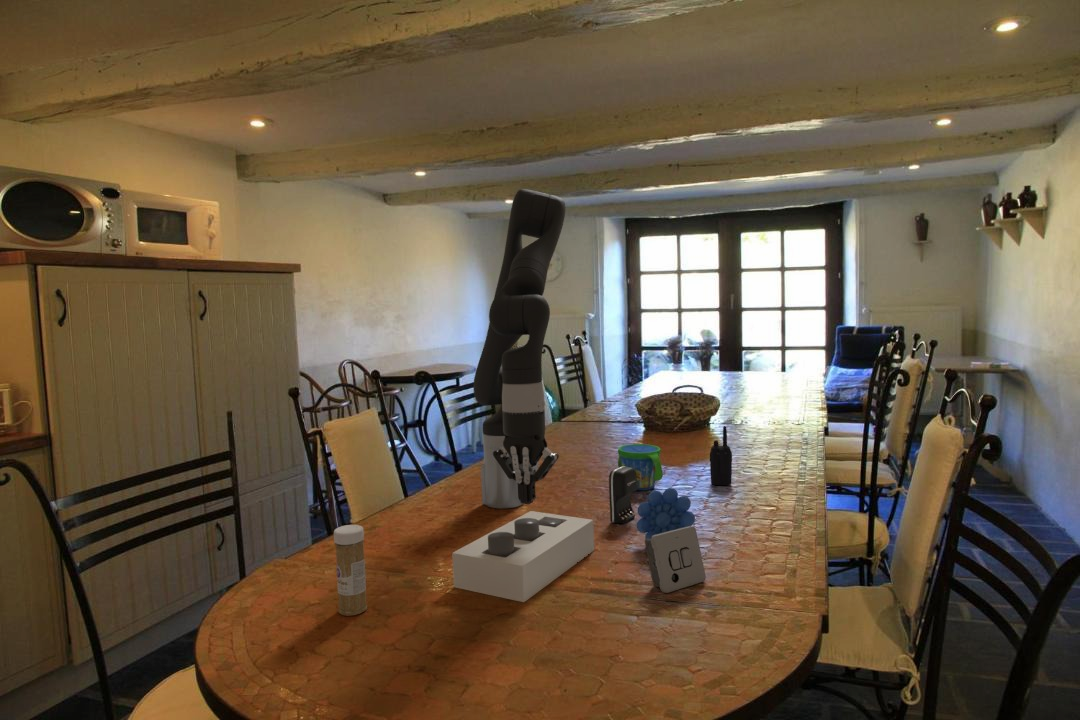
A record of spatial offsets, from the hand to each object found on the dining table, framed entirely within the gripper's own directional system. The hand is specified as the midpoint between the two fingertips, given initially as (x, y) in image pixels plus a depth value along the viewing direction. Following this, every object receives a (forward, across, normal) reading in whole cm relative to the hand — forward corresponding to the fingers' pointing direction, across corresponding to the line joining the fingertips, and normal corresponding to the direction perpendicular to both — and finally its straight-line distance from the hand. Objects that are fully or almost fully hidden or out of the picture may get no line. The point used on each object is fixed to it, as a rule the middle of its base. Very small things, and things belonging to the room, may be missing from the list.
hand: (527, 502), depth 128 cm
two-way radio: (+12, +16, +68) cm, 71 cm away
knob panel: (+12, 0, 0) cm, 12 cm away
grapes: (+12, +19, +20) cm, 30 cm away
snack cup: (+12, -2, +58) cm, 60 cm away
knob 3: (+11, 0, +8) cm, 14 cm away
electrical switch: (+12, +26, +4) cm, 29 cm away
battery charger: (+12, +5, +32) cm, 35 cm away
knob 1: (+9, 0, -9) cm, 12 cm away
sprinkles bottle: (+12, -16, -28) cm, 34 cm away
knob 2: (+8, 0, 0) cm, 9 cm away
